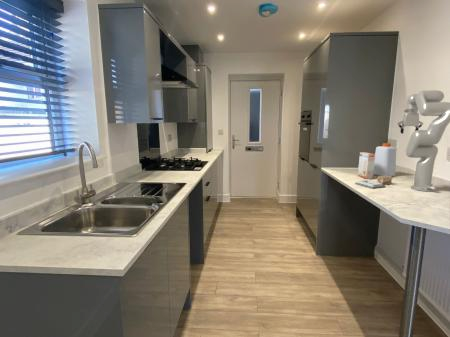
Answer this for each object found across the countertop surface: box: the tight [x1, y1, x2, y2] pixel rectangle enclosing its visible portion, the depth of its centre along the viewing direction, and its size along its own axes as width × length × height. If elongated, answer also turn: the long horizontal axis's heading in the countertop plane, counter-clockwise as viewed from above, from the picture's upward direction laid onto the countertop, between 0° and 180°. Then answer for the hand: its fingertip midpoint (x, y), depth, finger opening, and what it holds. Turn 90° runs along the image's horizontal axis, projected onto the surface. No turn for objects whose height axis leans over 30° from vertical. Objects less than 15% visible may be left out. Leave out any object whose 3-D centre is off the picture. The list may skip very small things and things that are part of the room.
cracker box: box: [357, 151, 375, 180], centre depth 217 cm, size 14×6×21 cm, turn 179°
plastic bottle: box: [373, 142, 397, 177], centre depth 226 cm, size 15×15×28 cm
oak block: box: [376, 176, 393, 186], centre depth 195 cm, size 4×9×6 cm, turn 109°
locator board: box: [354, 179, 387, 190], centre depth 191 cm, size 15×13×2 cm
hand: (408, 133), depth 205 cm, fingers open, 9 cm apart
